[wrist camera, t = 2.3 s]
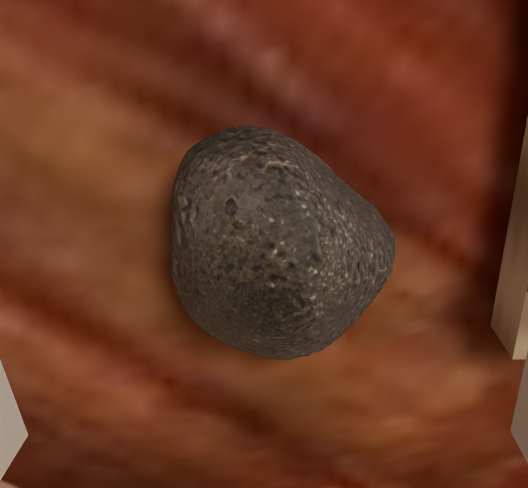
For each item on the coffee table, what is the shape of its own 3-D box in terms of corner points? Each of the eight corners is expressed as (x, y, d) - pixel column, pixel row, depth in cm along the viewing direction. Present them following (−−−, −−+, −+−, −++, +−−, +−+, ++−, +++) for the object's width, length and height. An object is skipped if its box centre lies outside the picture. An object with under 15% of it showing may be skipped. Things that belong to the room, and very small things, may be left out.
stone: (328, 280, 27) (486, 258, 18) (223, 393, 23) (362, 434, 14) (221, 133, 25) (342, 32, 16) (87, 230, 21) (153, 164, 12)
